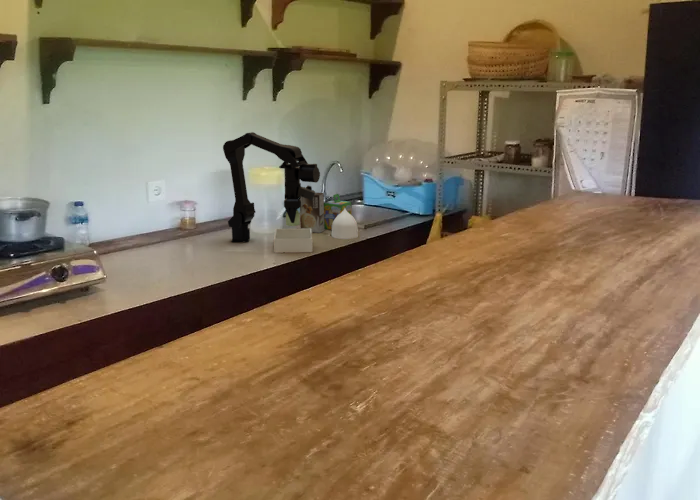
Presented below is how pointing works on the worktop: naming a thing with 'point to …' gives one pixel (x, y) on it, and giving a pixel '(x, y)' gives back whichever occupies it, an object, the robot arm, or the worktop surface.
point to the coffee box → (312, 213)
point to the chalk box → (334, 210)
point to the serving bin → (292, 240)
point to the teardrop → (344, 226)
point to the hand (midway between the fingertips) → (292, 221)
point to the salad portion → (296, 222)
